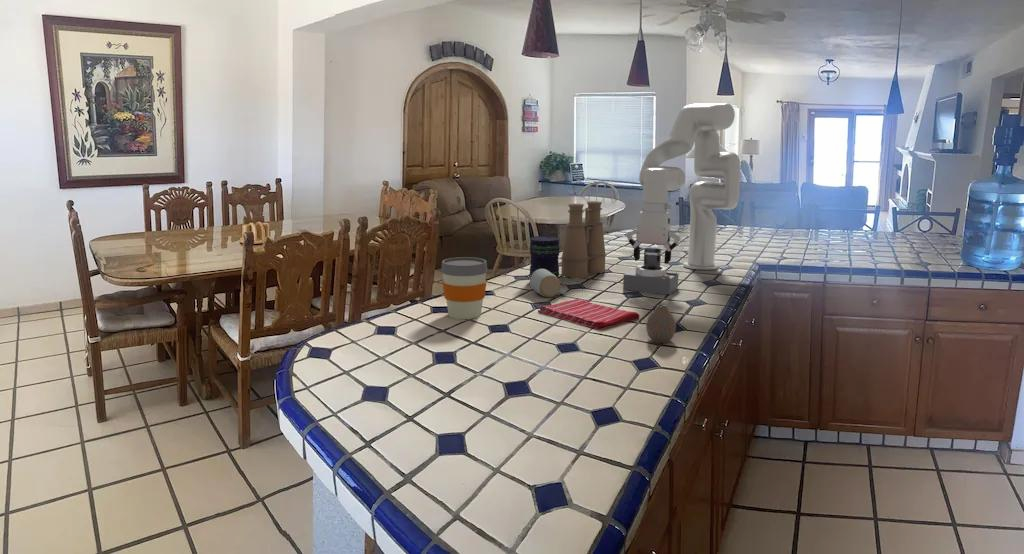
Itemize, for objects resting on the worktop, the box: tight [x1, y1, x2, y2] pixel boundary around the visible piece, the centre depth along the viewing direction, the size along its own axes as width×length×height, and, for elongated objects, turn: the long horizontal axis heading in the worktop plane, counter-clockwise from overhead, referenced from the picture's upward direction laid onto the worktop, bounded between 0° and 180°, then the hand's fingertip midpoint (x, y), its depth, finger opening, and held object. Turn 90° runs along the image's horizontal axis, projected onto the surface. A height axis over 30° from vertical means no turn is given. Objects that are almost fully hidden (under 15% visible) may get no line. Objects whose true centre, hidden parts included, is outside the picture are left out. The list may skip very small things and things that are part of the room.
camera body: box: [622, 264, 679, 296], centre depth 217 cm, size 10×15×7 cm, turn 62°
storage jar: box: [529, 235, 561, 279], centre depth 225 cm, size 10×10×15 cm
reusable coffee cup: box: [440, 256, 488, 320], centre depth 185 cm, size 13×13×15 cm
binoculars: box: [560, 200, 608, 279], centre depth 238 cm, size 21×10×25 cm, turn 138°
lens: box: [643, 246, 662, 270], centre depth 216 cm, size 5×5×8 cm
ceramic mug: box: [529, 269, 568, 298], centre depth 209 cm, size 11×8×8 cm
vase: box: [646, 304, 677, 344], centre depth 164 cm, size 7×7×9 cm
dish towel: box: [537, 298, 640, 330], centre depth 186 cm, size 17×24×3 cm
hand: (651, 261), depth 216 cm, fingers open, 9 cm apart
